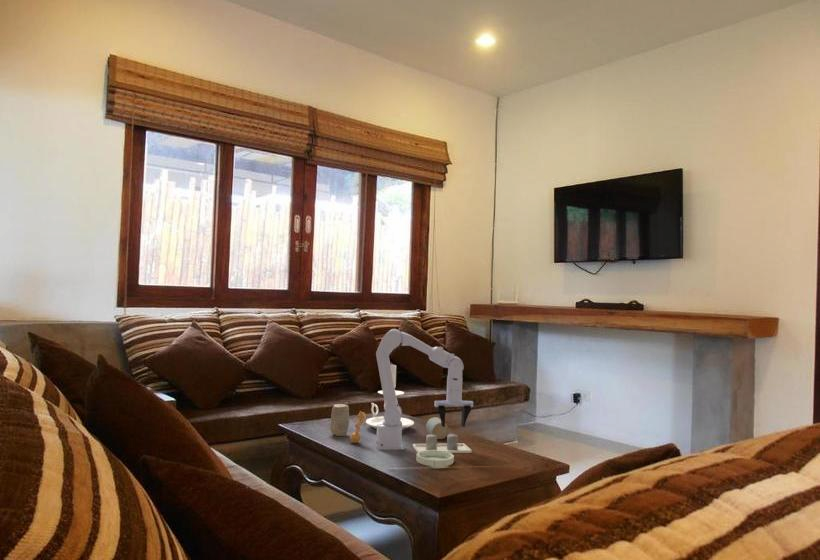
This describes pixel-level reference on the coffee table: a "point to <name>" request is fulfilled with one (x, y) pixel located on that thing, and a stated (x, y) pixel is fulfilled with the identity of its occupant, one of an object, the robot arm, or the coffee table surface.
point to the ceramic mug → (437, 428)
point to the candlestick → (379, 420)
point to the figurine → (358, 427)
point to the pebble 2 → (452, 442)
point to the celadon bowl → (435, 458)
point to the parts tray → (444, 448)
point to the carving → (339, 419)
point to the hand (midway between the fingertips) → (453, 426)
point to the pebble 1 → (431, 442)
